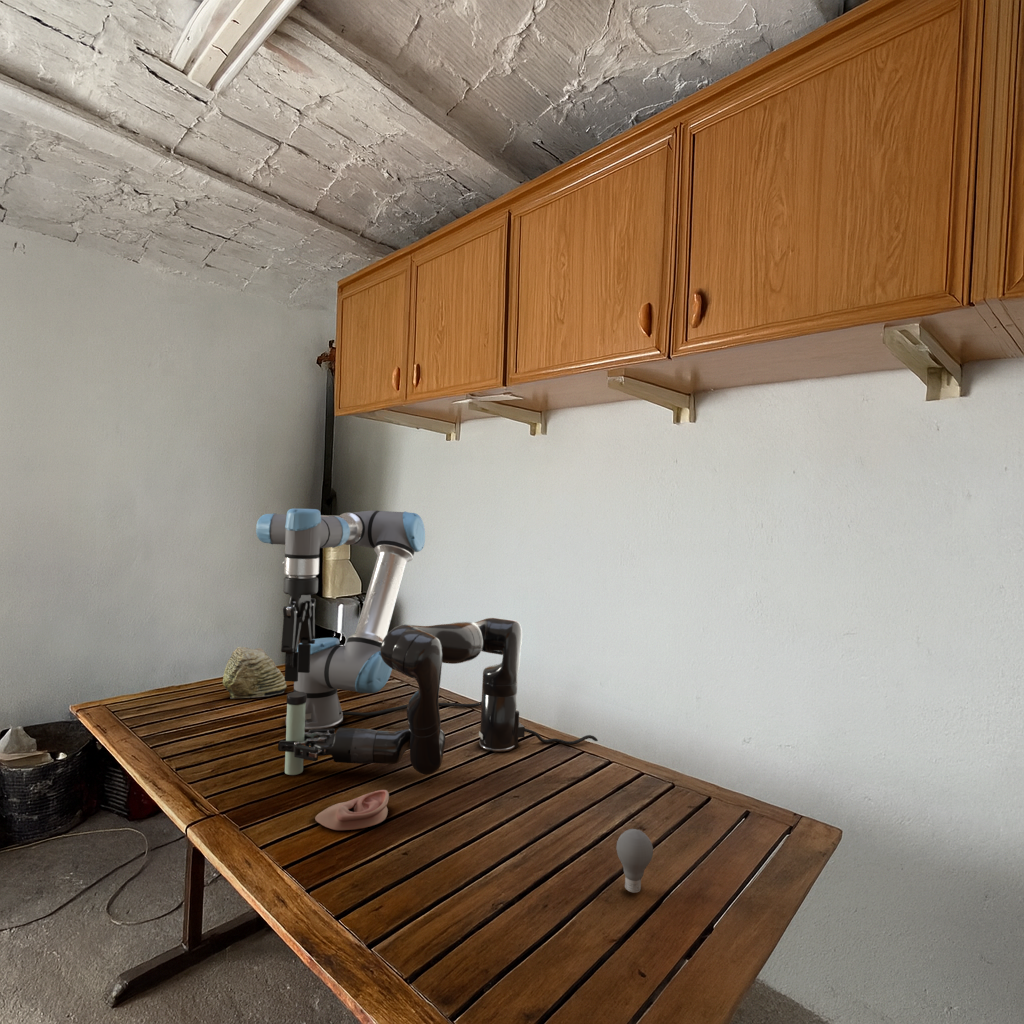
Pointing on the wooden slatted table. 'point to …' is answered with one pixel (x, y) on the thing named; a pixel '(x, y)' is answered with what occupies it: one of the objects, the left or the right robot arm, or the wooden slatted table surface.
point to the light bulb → (634, 857)
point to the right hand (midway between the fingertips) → (283, 741)
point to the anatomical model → (356, 812)
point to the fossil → (252, 674)
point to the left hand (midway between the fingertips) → (297, 676)
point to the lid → (296, 698)
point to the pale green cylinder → (294, 736)
